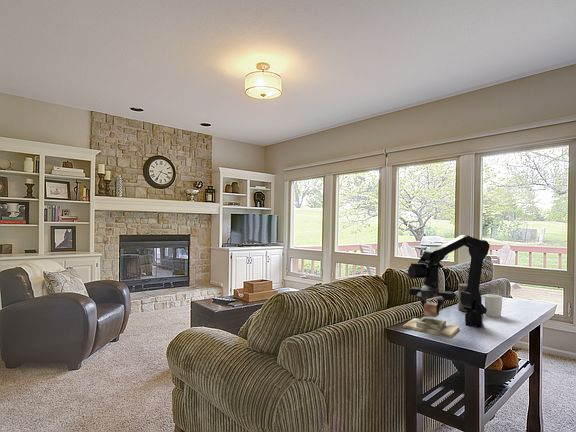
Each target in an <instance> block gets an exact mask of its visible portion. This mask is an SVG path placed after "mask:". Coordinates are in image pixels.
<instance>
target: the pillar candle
mask: <svg viewBox="0 0 576 432" xmlns="http://www.w3.org/2000/svg"><path fill="white" fill-rule="evenodd" d="M467 284H468V283H458V293H457V294H458V302H457V303H458V311H461V312H463V313H464V312H465V313H466V312H467V310H464V308H463V305H462V304H461V300H460V298H461V291H463V292H464V291H465V290H466V289H467Z"/></svg>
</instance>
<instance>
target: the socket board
mask: <svg viewBox="0 0 576 432" xmlns="http://www.w3.org/2000/svg"><path fill="white" fill-rule="evenodd" d="M402 326H403V329H407V330H408V329H409V330H413V331H418V332H423V333H426V334H432V335H436V336H441V337H447V338H450V337H451V338H453V336H455V334H456V333H457V332H458V331H459V330H460V326H458V325H453V324H448V323H447V321H446V320H443V319H437V318H434V317H428V316H423V317H421V318H417V317H416V318H415V317H414V318H412V319H410V320H409V321H408V322H406V323H405V324H403V325H402Z"/></svg>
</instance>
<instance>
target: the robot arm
mask: <svg viewBox="0 0 576 432" xmlns="http://www.w3.org/2000/svg"><path fill="white" fill-rule="evenodd" d="M464 246H465V247H467V248H468V253H469V256H470V264H469V272H468V276H467V283H466V284H467V289H466V290H465V291H464V292H463V291H461V298H460V300H461V304H462V305H463V308H464V310H467V312H465V314H464V323H465V326H470V327H474V328H479V329H480V328H483V326H484V320H483V319H484V316H483V315H486V311H487V309H486V308H485V305H484V304H482V295H481V292H480V285H481V278H482V271H483V262H484V259H485V258H486V257H487V255H488V254H489V251H490V243H489V242H488V241H487V240H485V239H479V238H475V237H472V236H470V235H467V234H460V235H458V236H457V237H455V238H453V239H451V240H448V241H447V242H445V243H443V244H442V245H439V246H437V247H430V248H426V249H425V250H423V251H422V256H420V258H419V259H418V262H417V263H414V262H411V263H410V266H409V267H408V270H407V275H408V277H409V278H410V279H414V280H416V279H424V280H423V285H422V286H421V287H418V286H412V287H410V288H409V289H408V295H410V296H415V298H417V299H419V301H420V303H421V306H422V308H423V309H424V304H425V303H426V302H427V298H430V299H431V298H433V297H438V299H436V303H438V304H437V314H438V313H439V314H440V311H441V309H442V307H443V304H444V302H445V301H449V302H451V301H454V300H456V293H455V292H454V291H448V290H445V291H443V292H441V291H440V289H439V283H440V280H439V277H440V276H439V273H440V271H439V269H441V268H442V269H443V268H444V266H443V265H442V264H441V261H443V260H444V259H445V257H446V256H447V255H448V254H451V253H453V252H455V251H457V250H458V249H461V248H462V247H464Z"/></svg>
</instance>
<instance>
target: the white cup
mask: <svg viewBox="0 0 576 432" xmlns="http://www.w3.org/2000/svg"><path fill="white" fill-rule="evenodd" d="M484 307H485V308H486V309H487V311H486V314H485V316H487V317H490V318H500V317H502V309H503V296H502V295H499V294H492V293H486V294H484Z"/></svg>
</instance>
